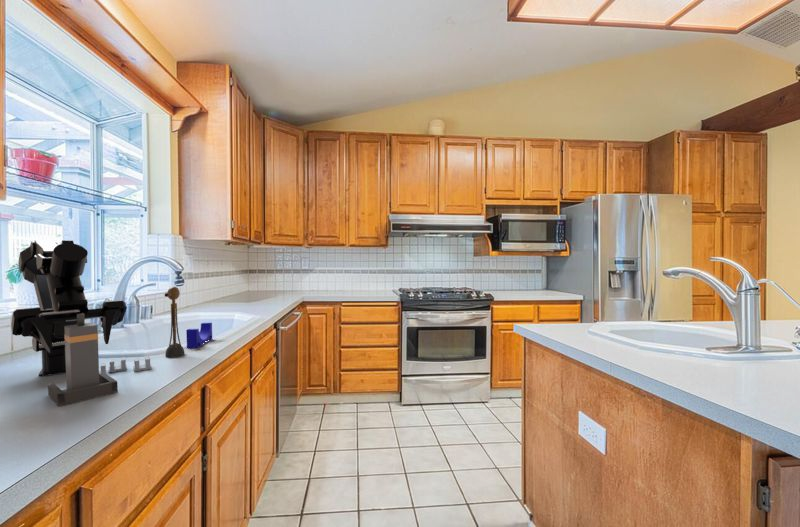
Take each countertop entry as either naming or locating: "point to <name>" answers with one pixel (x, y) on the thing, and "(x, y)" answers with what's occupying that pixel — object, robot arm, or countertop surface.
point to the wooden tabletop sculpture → (174, 326)
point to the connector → (81, 354)
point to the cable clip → (199, 335)
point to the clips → (124, 366)
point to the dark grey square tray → (83, 391)
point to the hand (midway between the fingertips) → (80, 347)
